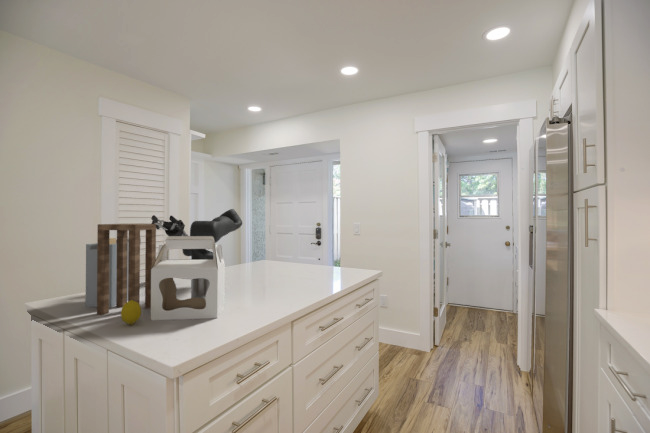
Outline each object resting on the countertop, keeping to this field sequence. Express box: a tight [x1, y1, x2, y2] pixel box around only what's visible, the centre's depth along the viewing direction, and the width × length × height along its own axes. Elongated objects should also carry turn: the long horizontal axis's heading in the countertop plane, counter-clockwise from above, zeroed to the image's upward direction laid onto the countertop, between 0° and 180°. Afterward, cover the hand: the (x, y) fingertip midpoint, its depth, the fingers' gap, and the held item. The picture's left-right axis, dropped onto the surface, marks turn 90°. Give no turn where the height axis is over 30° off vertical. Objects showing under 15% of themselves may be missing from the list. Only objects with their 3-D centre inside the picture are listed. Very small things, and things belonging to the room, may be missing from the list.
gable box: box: [150, 235, 226, 321], centre depth 113 cm, size 22×13×28 cm, turn 97°
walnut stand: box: [96, 223, 157, 316], centre depth 117 cm, size 14×12×32 cm
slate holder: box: [85, 242, 129, 308], centre depth 127 cm, size 10×14×24 cm
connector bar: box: [109, 237, 142, 246], centre depth 133 cm, size 4×20×4 cm, turn 176°
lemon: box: [120, 300, 142, 326], centre depth 101 cm, size 6×6×8 cm
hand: (161, 216), depth 148 cm, fingers open, 8 cm apart
